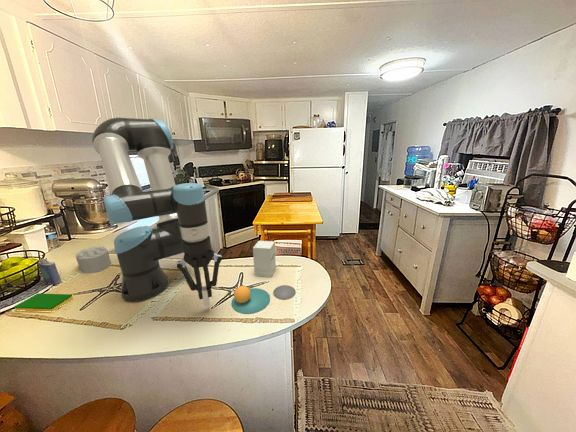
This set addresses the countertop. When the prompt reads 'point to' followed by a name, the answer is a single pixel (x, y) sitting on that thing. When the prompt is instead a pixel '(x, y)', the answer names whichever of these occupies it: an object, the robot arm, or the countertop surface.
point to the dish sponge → (44, 302)
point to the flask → (49, 271)
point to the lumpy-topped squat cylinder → (93, 259)
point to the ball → (242, 294)
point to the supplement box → (264, 258)
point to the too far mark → (284, 292)
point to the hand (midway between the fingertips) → (207, 305)
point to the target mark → (252, 302)
